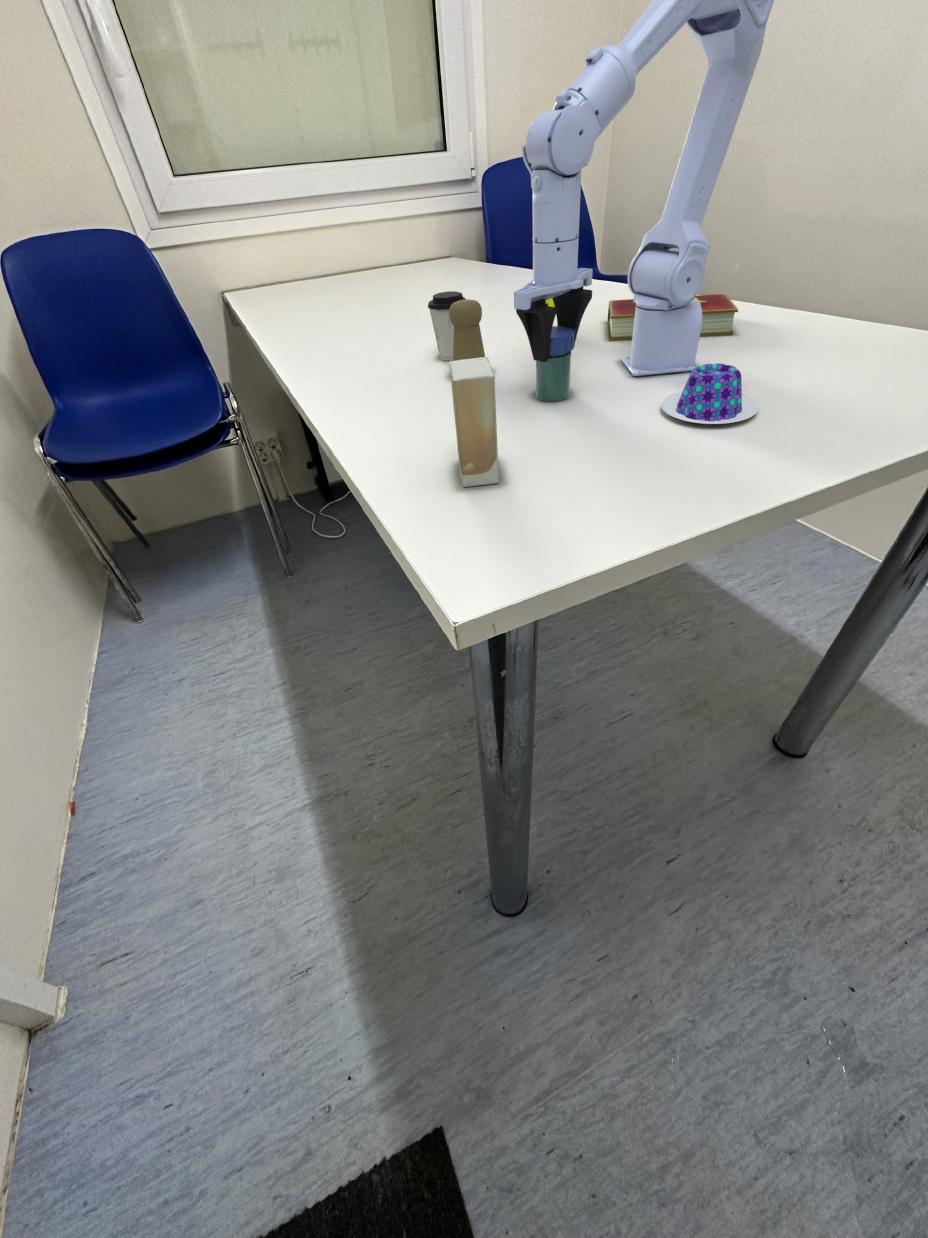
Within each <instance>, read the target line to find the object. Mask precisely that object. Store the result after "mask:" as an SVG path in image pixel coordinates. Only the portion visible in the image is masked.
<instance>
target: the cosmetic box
mask: <svg viewBox="0 0 928 1238" xmlns="http://www.w3.org/2000/svg"><path fill="white" fill-rule="evenodd" d="M449 373H450V383H451V384H450V385H451V393H452V394H451V395H452V404H453V405H452V406H453V413H454V416H453V417H454V425H455V436H456V445H457V447H456V448H457V456H458V458H457V459H458V467H459V475H460V480H461V484H462V487H463V488H470V487H476V486H477V487H478V486H486V485H495V484H499V483H500V475H499V473H500V472H499V470H500V469H499V452H498V451H499V448H498V447H499V446H498V428H497V427H498V426H497V425H498V424H497V403H496V381H495V380H496V379H495V374H494V370H493V367H492V365H491V362H490V360H489V357H488V356H485V357H481V358H473V359H464V360H457V361H453V360H451V361H449Z"/></svg>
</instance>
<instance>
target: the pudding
mask: <svg viewBox="0 0 928 1238" xmlns="http://www.w3.org/2000/svg"><path fill="white" fill-rule="evenodd" d="M742 378H743V377H742V373H741V371H740V369H738V368H737V367H736V366H734V365H731V364H725V363H720V362H719V363H718V362H717V363H704V364H702V365H698V366H695V368H694V369H693V370H692V371H690V373H689V375H688V377H687V380H686V382H685V385H684V387H683V389H682V390H681V391H677V392H674V393H672V394H669V395H667V396H666V397H665V398H663V399H662V400H661V403H660V407H661V410H663V412H664V413H665V414H666V415H668V416H671V417H673V418H676V419H679V420H681V421H685V422H689V423H695V424H703V425H723V424H731V423H732V424H733V423H736V422H741V421H744V420H747V419H750V418H752V417H753V416H755V415H756V414H757V413H758V412H759V410H760V407H759V404H758V402H757V401H756V400H754V399H753V398H752V397H750V396H748V395H746V394H743V389H742V385H743V384H742V382H743V381H742Z"/></svg>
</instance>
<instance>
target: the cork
mask: <svg viewBox="0 0 928 1238" xmlns="http://www.w3.org/2000/svg"><path fill="white" fill-rule="evenodd" d="M465 299H466V300H460V301H457V302H454V303H453V304H452V305H451V307H450V309H449V318H450V321H451V323H452V324H453V325H454V339H453V360H452V361H457V360H464V359H473V358H481V357H486V354H485V348H484V342H483V337H482V330H481V326H480V323H481V321H482V317H483V309H482V306H481V303H480V302H479V301H478V300H475V299H468V298H465Z"/></svg>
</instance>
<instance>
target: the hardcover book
mask: <svg viewBox="0 0 928 1238" xmlns="http://www.w3.org/2000/svg"><path fill="white" fill-rule="evenodd" d="M633 299H634V298H629V299H627V298H626V299H614V300H613V299H612V300H608V309H607V323H606V324H607V334H608V337H607V338H608V341H626V340H627V341H629V340H631V341H632V336H633V327H634V318H635V309H636V303H635V302H633ZM691 301H698V302H699V303H700V305H701V308H702V326H701V332H700V337H715V336H733V335H734V330H733V329H732V327H733V322H734V317H735V313H739V308H738V307H737V305H736V304H735V303H734V302H733V300H731V298H730V297H729V295H728V294H727V293H716V294H713V293H712V294H700V295H699V294H696V296H695V297H694V298H693V299H692V300H691Z"/></svg>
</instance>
